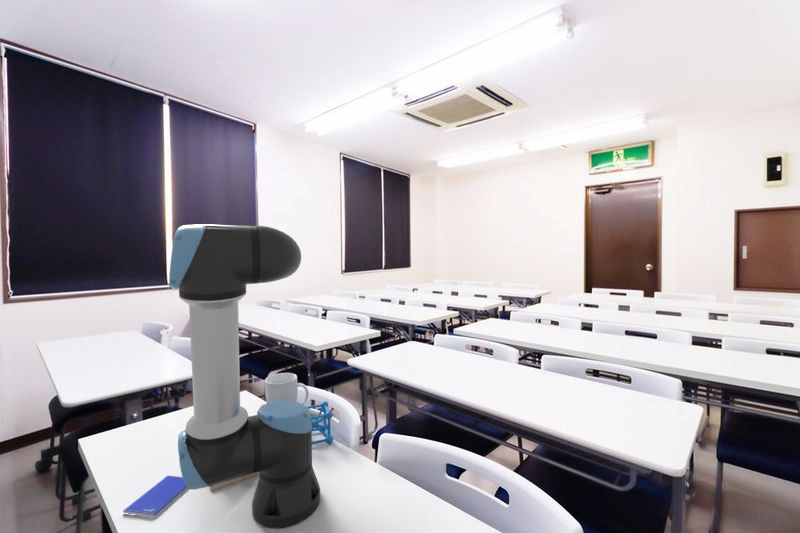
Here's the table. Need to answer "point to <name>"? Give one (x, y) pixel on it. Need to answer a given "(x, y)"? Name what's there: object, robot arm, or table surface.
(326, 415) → the molecular structure
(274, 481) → the robot arm
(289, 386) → the mug
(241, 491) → the table surface
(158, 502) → the hard drive
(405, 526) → the table surface
